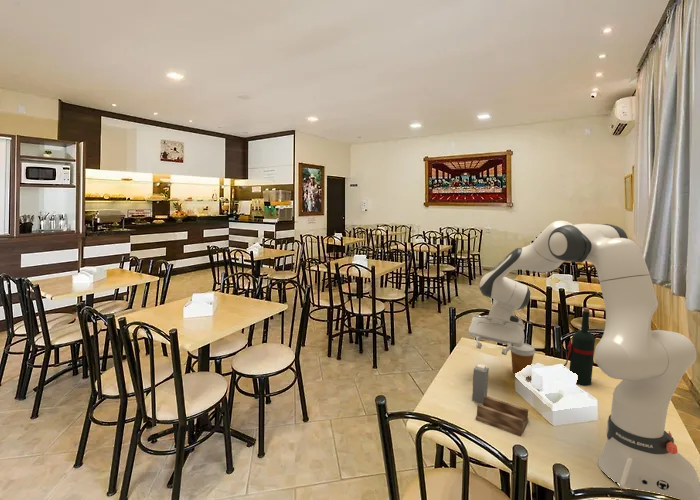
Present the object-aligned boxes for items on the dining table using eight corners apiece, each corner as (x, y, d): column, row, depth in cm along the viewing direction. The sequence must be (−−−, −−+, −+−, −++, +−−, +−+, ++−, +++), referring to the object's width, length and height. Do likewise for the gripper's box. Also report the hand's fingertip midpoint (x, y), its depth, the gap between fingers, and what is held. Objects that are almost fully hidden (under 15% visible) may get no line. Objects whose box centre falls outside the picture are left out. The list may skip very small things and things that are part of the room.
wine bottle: (560, 373, 154) (566, 304, 150) (588, 378, 150) (595, 306, 146) (563, 382, 147) (569, 309, 142) (593, 387, 143) (601, 312, 139)
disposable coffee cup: (537, 379, 149) (540, 351, 147) (513, 379, 149) (515, 351, 147) (527, 369, 158) (529, 342, 157) (504, 368, 158) (506, 342, 157)
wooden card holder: (528, 420, 122) (529, 408, 121) (520, 436, 114) (521, 422, 113) (485, 406, 130) (485, 394, 130) (475, 419, 122) (476, 407, 122)
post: (486, 399, 135) (488, 365, 133) (483, 404, 132) (485, 369, 130) (475, 395, 137) (477, 362, 135) (472, 400, 134) (473, 366, 132)
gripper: (472, 310, 151) (462, 340, 144) (526, 320, 138) (518, 354, 132) (475, 318, 155) (465, 347, 149) (528, 328, 142) (520, 361, 136)
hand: (490, 351), depth 140 cm, fingers open, 8 cm apart
